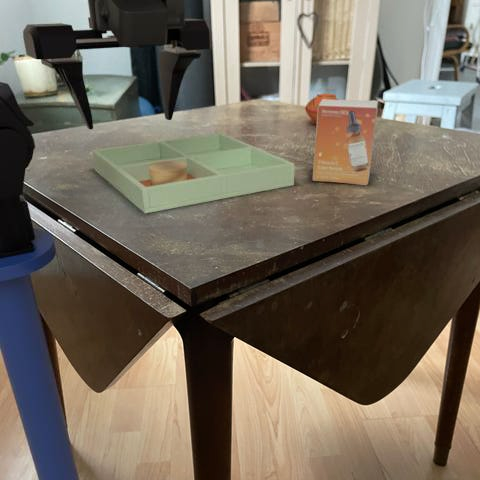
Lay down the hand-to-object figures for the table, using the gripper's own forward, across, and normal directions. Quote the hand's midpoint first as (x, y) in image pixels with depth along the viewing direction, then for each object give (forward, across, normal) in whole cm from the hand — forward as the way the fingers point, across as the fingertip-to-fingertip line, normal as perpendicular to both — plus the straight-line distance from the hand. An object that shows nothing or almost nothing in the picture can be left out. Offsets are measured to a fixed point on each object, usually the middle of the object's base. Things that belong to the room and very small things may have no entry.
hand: (130, 124), depth 61 cm
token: (+10, +7, +6) cm, 14 cm away
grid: (+11, +12, +12) cm, 20 cm away
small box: (+11, +31, 0) cm, 33 cm away
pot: (+11, +50, +30) cm, 59 cm away
